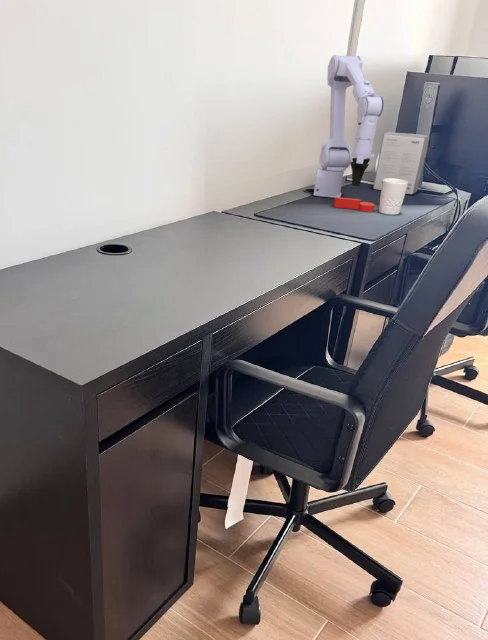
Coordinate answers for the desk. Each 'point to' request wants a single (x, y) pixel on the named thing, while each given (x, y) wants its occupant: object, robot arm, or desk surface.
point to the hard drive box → (401, 159)
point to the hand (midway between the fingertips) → (356, 183)
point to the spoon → (353, 204)
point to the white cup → (392, 196)
